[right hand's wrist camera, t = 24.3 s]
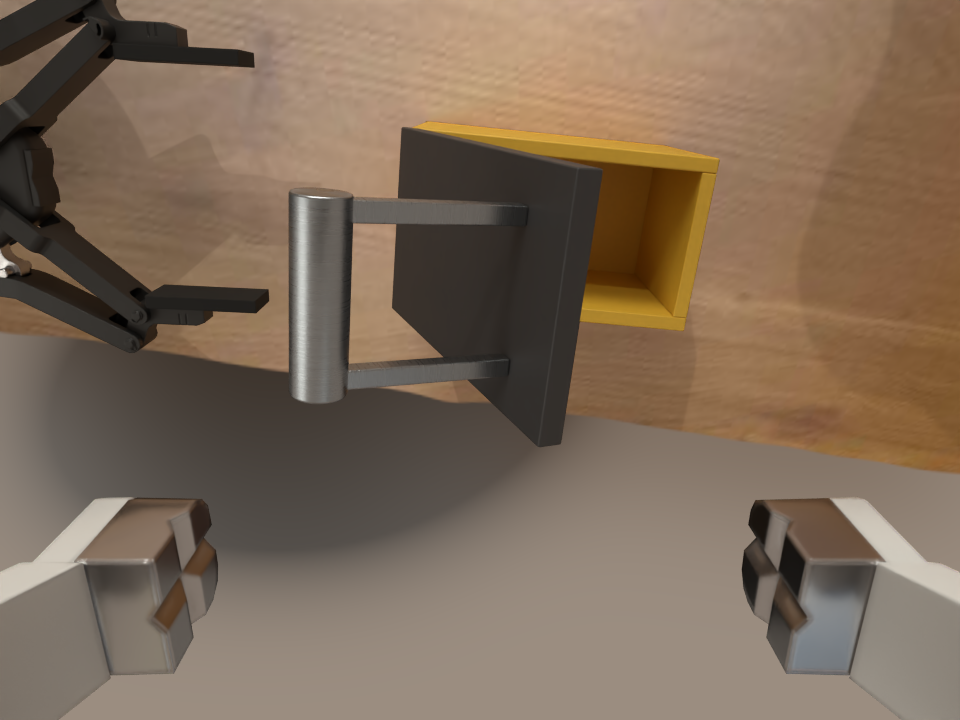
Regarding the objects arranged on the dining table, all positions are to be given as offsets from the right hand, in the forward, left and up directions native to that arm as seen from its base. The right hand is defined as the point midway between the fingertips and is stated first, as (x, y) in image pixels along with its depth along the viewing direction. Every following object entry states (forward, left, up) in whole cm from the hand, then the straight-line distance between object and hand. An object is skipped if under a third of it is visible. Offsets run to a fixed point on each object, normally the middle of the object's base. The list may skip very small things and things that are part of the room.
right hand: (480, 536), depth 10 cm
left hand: (+12, -6, -32) cm, 34 cm away
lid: (0, 0, -20) cm, 20 cm away
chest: (-4, +2, -39) cm, 39 cm away
